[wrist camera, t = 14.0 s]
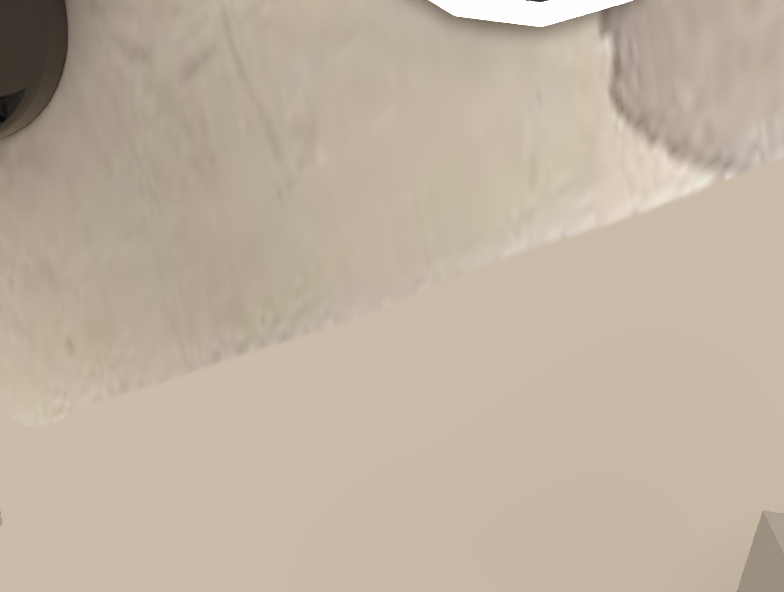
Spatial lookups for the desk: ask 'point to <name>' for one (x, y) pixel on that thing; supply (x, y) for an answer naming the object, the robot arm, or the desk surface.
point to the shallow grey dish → (524, 9)
